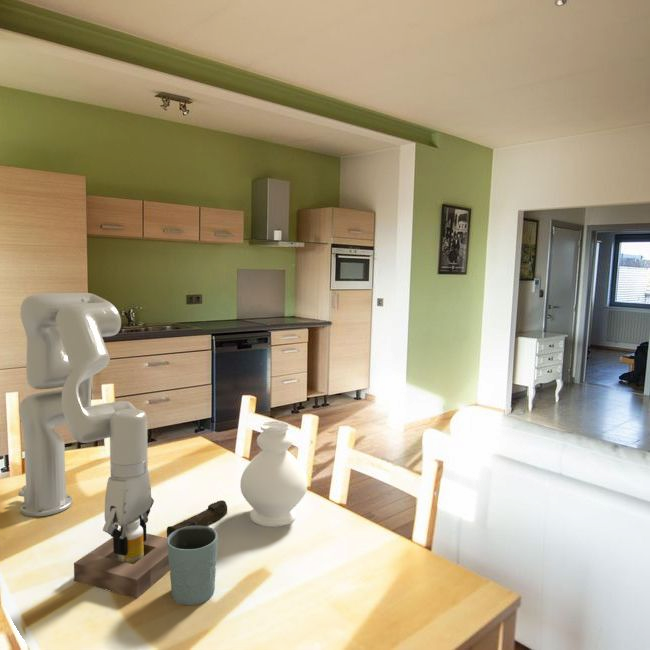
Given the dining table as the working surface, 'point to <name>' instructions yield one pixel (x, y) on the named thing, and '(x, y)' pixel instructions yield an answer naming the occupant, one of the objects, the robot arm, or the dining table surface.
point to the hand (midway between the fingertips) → (130, 546)
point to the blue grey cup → (192, 564)
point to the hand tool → (202, 517)
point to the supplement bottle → (133, 542)
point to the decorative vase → (274, 478)
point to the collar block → (124, 568)
